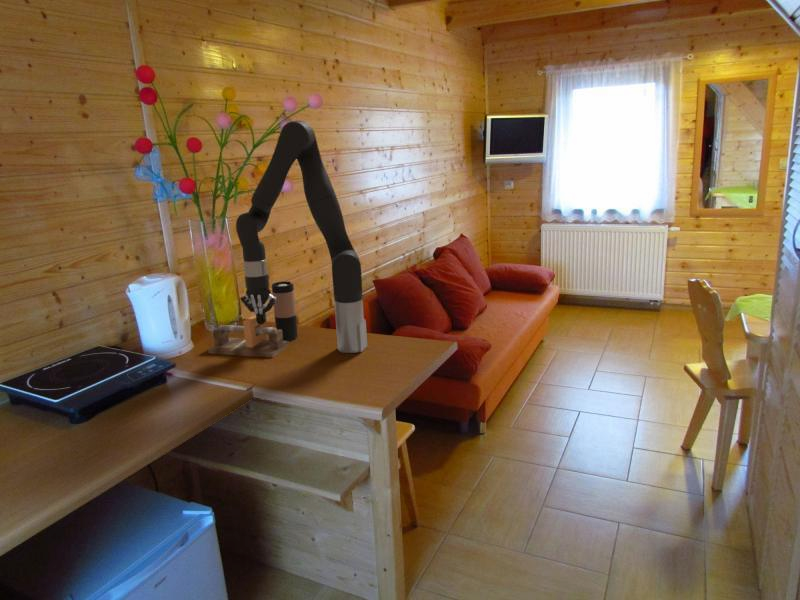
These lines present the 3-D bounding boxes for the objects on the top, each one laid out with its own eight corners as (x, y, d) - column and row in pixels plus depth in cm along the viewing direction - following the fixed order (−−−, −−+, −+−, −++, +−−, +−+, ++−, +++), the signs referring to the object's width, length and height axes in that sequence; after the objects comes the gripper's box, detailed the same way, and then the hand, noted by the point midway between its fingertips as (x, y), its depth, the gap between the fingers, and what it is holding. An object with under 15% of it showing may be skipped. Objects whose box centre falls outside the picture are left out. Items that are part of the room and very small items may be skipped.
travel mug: (273, 341, 200) (267, 286, 194) (281, 334, 207) (276, 281, 202) (294, 341, 199) (288, 286, 193) (301, 334, 206) (296, 281, 200)
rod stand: (289, 345, 195) (287, 322, 193) (273, 357, 184) (270, 333, 182) (228, 341, 202) (225, 319, 199) (208, 353, 190) (205, 330, 188)
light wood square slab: (265, 338, 195) (262, 313, 193) (252, 347, 187) (249, 321, 185) (259, 338, 196) (256, 313, 194) (246, 347, 188) (242, 321, 185)
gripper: (279, 271, 186) (284, 321, 190) (244, 270, 189) (249, 319, 194) (269, 276, 179) (274, 328, 184) (232, 275, 182) (238, 326, 187)
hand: (261, 323), depth 189 cm, fingers closed
